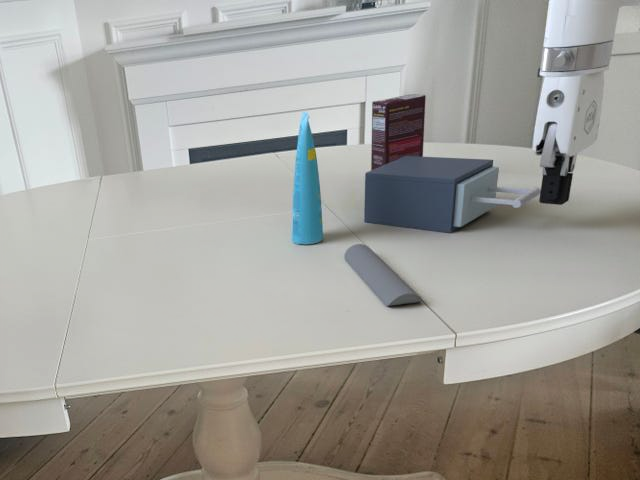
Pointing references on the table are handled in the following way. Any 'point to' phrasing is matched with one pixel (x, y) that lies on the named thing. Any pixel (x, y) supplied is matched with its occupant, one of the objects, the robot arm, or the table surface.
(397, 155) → the supplement box
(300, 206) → the tube
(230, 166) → the table surface
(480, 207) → the drawer
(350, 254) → the gray half cylinder
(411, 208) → the drawer cabinet
